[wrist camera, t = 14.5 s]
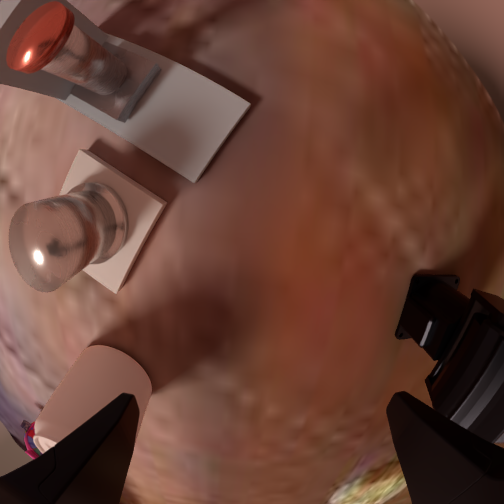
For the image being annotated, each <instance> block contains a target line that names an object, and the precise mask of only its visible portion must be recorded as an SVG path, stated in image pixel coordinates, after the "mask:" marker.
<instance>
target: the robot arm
mask: <svg viewBox="0 0 504 504" xmlns="http://www.w3.org/2000/svg"><path fill="white" fill-rule="evenodd" d="M417 279H418V280H417ZM416 280H417V282H416ZM459 281H460V278H459V277H458V276H456V275H414V276H413V277H412V279H411V283H410V287H409V290H408V294H407V297H406V301H405V304H404V308H403V311H402V314H401V317H400V320H399V323H398V326H397V329H396V332H395V337H396V338H397V339H399V340H400V339H408V338H412V339H413V340H414V341H415V342H416V343H417V344H418V345H419V347H421V348H423V349H424V350H425V351H426V352H427V353H428V355H429V356H430V357H431V358H432V359H433V360H434V361H436V360H438V362H437V364H436V365H435V367H434V368H433V370H432V372H431V373H430V375H428V376H427V378H426V379H425V383H426V386H427V389H428V392H429V395H430V398H431V401H432V406H433V408H431V407H429V406H428V405H426V404H425V403H423V402H421V401H420V400H418V399H417V398H415V397H413V396H412V395H410V394H409V393H407V392H405V391H401V392H397V393H395V394H394V395H393V397H392V399H391V400H390V402H389V404H388V406H387V409H386V413H387V417H388V421H389V426H390V430H391V435H392V439H393V443H394V447H395V450H396V453H397V456H398V459H399V462H400V465H401V468H402V471H403V474H404V477H405V481H406V484H407V487H408V491H409V494H410V497H411V501H412V504H504V448H502V447H500V446H497V445H495V444H494V443H504V299H502V298H500V297H499V296H497V295H493V294H490V293H486V292H483V291H480V290H476V289H473V291H472V293H471V298H470V299H469V298H467V297H466V296H464V295H463V294H462V293H460V292H459V291H457V288H458V285H459ZM400 333H401V334H400ZM399 334H400V335H399ZM139 415H140V410H139V407H138V404H137V400H136V397H135V396H134V395H133V394H129V393H121V394H120V395H119V396H117V397H116V398H115V399H114V400H112V401H111V402H110V403H109V404H107V405H106V406H105V407H103V408H102V409H101V410H100V411H98V412H97V413H96V414H95V415H93V416H92V417H91V418H89V419H88V420H87V421H86V422H84V423H83V424H82V425H80V426H79V427H78V428H77V429H75V430H74V431H73V432H71V433H70V434H69V435H67V436H66V437H65V438H63V439H62V440H61V441H59V442H58V443H57V444H55V446H53V447H51V448H50V449H49V450H47V451H46V452H44V453H43V454H42V455H40V456H39V457H37V458H36V459H34V460H32V461H30V462H29V463H27V464H25V465H23V466H21V467H20V468H17V469H16V470H14V471H12V472H10V473H8V474H6V475H4V476H1V477H0V504H119V502H120V498H121V494H122V491H123V487H124V483H125V479H126V476H127V472H128V469H129V465H130V462H131V458H132V455H133V451H134V445H135V439H136V433H137V427H138V421H139Z"/></svg>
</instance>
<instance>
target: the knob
mask: <svg viewBox="0 0 504 504" xmlns="http://www.w3.org/2000/svg"><path fill="white" fill-rule="evenodd" d="M128 229H129V219H128V213H127V209H126V206H125V204H124V202H123V200H122V198H121V197H120V195H119V194H118V193H117V192H116V191H115V190H114V189H113V188H111V187H110V186H108V185H106V184H104V183H100V182H90V183H83V184H80V185H77V186H75V187H74V188H72V189H71V190H70V191H69V192H68V193H67V194H65V195H60V196H56V197H51V198H47V199H43V200H39V201H35V202H31V203H27V204H24V205H23V206H21V207H20V208H19V209H18V210H17V211H16V212H15V214H14V216H13V218H12V221H11V224H10V229H9V248H10V253H11V256H12V260H13V262H14V265H15V267H16V269H17V271H18V272H19V274H20V275H21V277H22V278H23V279H24V281H25V282H26V283H27V284H28V285H30V286H31V287H32V288H34V289H36V290H38V291H41V292H52V291H54V290H56V289H58V288H59V287H60V286H61V285H63V284H64V283H65V282H67V281H68V280H69V279H71V278H72V277H73V276H75V275H76V274H77V273H79V272H80V271H81V270H83V269H84V268H85V267H87V266H88V265H90V264H100V263H103V262H106V261H107V260H109V259H110V258H111V257H113V256H114V255H115V254H117V253H118V252H119V251H120V250H121V248H122V247H123V245H124V243H125V241H126V239H127V235H128Z"/></svg>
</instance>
